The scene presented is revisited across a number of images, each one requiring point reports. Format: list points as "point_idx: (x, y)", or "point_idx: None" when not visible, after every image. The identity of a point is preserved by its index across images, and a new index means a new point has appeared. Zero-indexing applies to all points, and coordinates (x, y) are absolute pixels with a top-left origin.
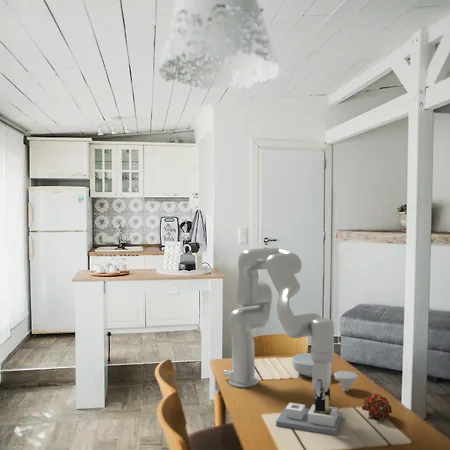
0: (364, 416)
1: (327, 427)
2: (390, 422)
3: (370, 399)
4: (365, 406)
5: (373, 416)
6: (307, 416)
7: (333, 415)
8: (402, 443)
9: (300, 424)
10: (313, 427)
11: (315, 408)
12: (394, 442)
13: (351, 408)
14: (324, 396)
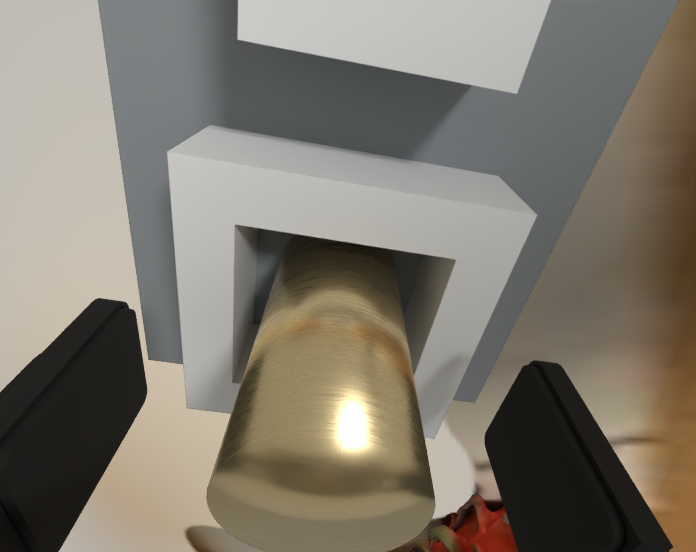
0: (489, 471)
1: (175, 306)
2: (418, 540)
3: None
4: None
5: (461, 512)
6: (379, 114)
7: (231, 407)
8: (210, 548)
9: (121, 28)
10: (126, 188)
11: (85, 313)
12: (206, 531)
13: (625, 426)
14: (294, 526)
